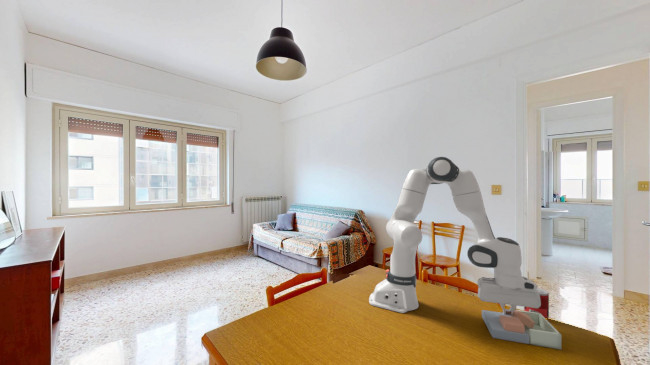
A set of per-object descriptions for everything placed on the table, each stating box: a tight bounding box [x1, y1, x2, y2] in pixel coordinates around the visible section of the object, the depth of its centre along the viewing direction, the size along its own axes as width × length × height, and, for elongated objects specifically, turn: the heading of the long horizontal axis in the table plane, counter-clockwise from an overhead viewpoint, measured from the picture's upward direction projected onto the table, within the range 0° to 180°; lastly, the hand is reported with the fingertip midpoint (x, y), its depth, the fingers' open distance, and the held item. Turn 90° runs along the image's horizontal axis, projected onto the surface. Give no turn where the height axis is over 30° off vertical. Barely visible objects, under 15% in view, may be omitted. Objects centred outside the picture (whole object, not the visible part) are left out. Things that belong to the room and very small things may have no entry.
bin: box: [517, 309, 562, 350], centre depth 94 cm, size 9×15×5 cm, turn 161°
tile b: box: [499, 315, 525, 333], centre depth 93 cm, size 6×6×2 cm
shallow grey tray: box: [481, 309, 530, 345], centre depth 97 cm, size 11×15×3 cm
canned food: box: [523, 287, 550, 320], centre depth 107 cm, size 8×8×11 cm
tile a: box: [511, 309, 535, 329], centre depth 98 cm, size 6×6×2 cm
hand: (507, 314), depth 100 cm, fingers closed
